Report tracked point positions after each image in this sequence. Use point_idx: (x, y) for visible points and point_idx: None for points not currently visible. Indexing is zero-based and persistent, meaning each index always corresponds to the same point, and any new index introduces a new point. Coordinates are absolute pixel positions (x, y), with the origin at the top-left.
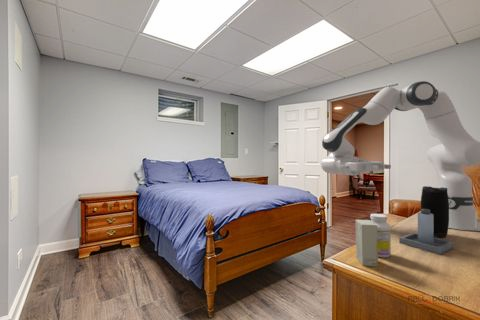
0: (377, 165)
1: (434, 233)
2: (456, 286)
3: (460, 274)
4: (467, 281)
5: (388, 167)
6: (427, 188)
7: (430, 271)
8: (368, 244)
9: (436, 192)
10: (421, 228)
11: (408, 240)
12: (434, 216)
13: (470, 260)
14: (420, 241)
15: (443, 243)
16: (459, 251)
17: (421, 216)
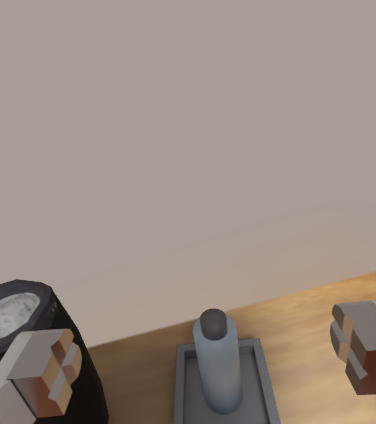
0: (369, 301)
1: (107, 412)
2: (373, 288)
3: (321, 300)
4: (336, 289)
5: (77, 353)
6: (40, 317)
7: None
8: None
9: (57, 302)
10: (239, 364)
11: (277, 413)
12: (95, 372)
13: (232, 314)
14: (241, 393)
15: (185, 365)
16: (193, 340)
17: (237, 336)
